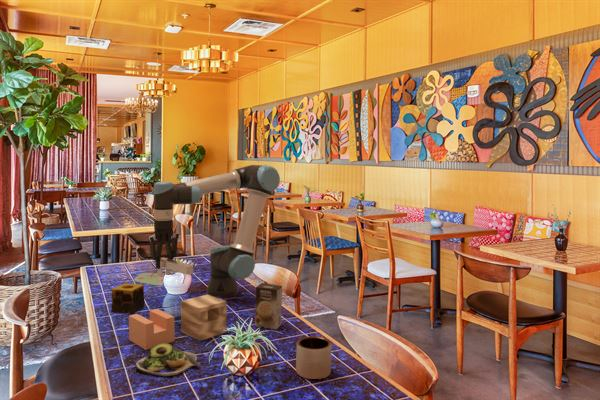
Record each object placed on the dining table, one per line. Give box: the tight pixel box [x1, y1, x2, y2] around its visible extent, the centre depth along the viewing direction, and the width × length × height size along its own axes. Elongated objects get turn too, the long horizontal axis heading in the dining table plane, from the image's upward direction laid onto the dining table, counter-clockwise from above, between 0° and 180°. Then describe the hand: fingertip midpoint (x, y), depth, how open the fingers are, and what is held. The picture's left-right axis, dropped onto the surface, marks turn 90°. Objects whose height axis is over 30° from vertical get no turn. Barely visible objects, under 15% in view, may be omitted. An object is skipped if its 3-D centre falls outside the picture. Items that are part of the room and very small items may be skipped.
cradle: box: [128, 308, 176, 351], centre depth 165 cm, size 11×12×9 cm
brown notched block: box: [180, 293, 227, 342], centre depth 174 cm, size 12×12×12 cm
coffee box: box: [254, 282, 283, 330], centre depth 181 cm, size 9×6×16 cm
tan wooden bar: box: [160, 257, 194, 276], centre depth 186 cm, size 3×22×3 cm, turn 46°
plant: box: [133, 264, 165, 286], centre depth 247 cm, size 25×21×9 cm
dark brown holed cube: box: [111, 283, 146, 315], centre depth 198 cm, size 10×10×10 cm
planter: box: [295, 335, 332, 380], centre depth 143 cm, size 11×11×10 cm
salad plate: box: [135, 343, 201, 377], centre depth 147 cm, size 19×18×5 cm
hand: (164, 275), depth 192 cm, fingers closed on tan wooden bar, 3 cm apart
